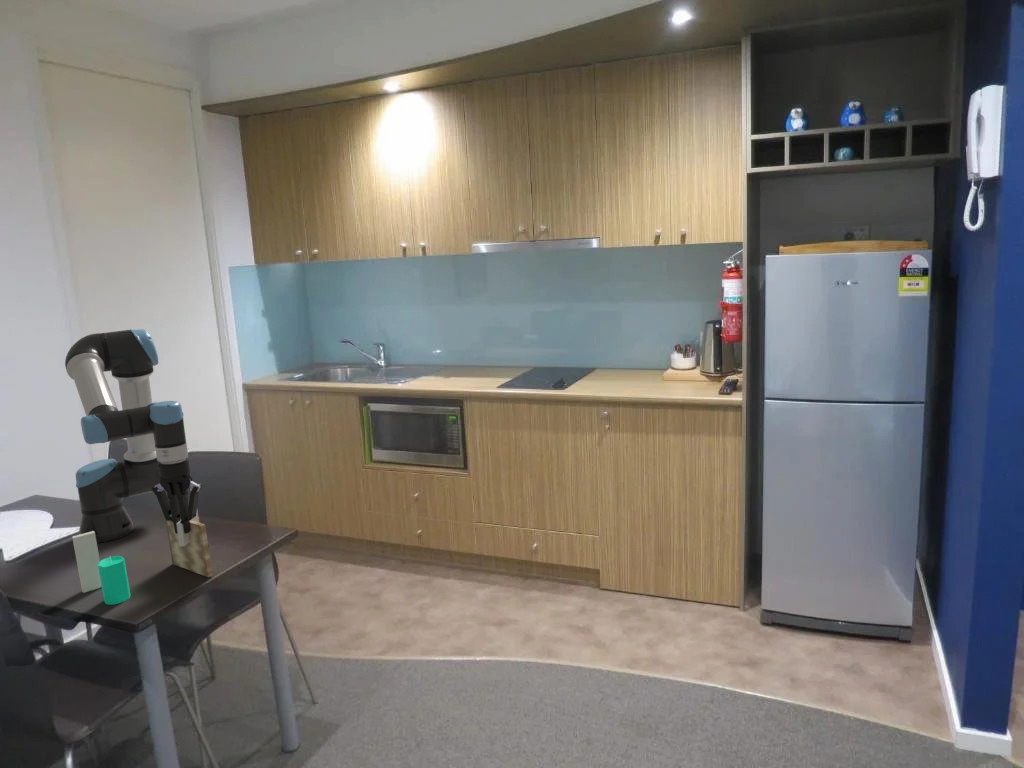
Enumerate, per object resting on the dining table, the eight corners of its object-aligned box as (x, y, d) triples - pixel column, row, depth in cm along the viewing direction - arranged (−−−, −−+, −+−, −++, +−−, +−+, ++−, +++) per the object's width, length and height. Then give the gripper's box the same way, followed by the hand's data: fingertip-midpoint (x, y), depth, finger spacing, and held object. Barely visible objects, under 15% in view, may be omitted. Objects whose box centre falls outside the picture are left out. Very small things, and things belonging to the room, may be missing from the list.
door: (173, 564, 205) (166, 515, 202) (183, 560, 207) (175, 511, 205) (208, 577, 196) (201, 525, 193) (217, 573, 198) (210, 522, 195)
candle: (112, 593, 190) (104, 551, 188) (135, 592, 190) (127, 549, 188) (99, 605, 184) (91, 561, 182) (123, 603, 184) (115, 559, 182)
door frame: (82, 590, 193) (72, 536, 190) (202, 554, 212) (195, 504, 209) (83, 592, 191) (73, 538, 188) (204, 555, 211) (196, 505, 208)
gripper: (141, 464, 188) (154, 550, 192) (189, 463, 187) (200, 549, 191) (157, 456, 195) (169, 538, 200) (203, 455, 194) (214, 538, 199)
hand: (184, 544), depth 196 cm, fingers closed
